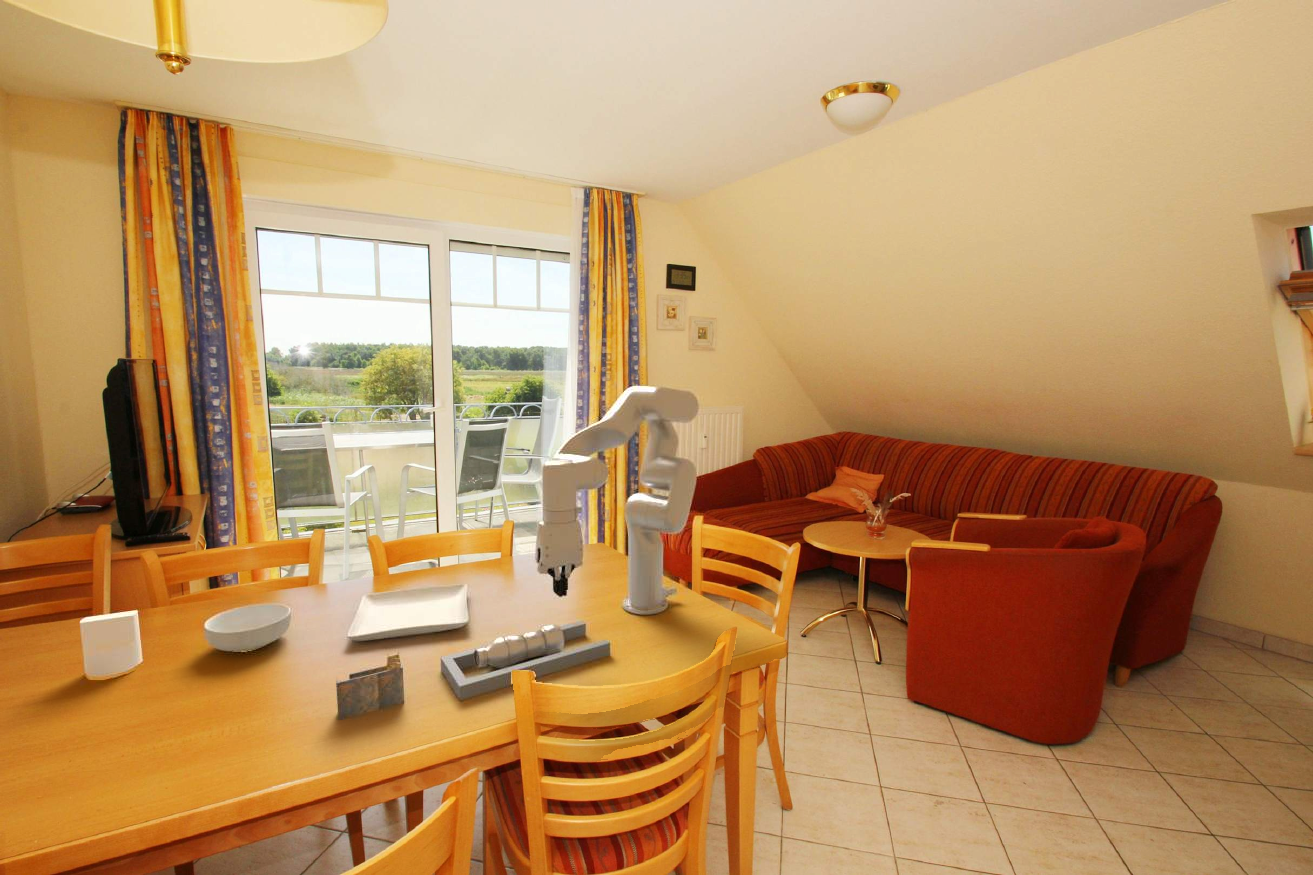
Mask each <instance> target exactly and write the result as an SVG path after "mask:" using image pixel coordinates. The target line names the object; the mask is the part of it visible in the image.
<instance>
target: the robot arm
mask: <svg viewBox="0 0 1313 875" xmlns="http://www.w3.org/2000/svg"><path fill="white" fill-rule="evenodd" d="M698 401H699V400H698V398H697V396H696V395H695V394H694V393H693V392H691V391H689V390H682V389H678V388H677V389H676V388H671V387H666V386H664V387H663V386H654V385H653V386H652V385H651V386H647V385H634V386H630V387H628V388H627V389H625V390H624V391H623V393H622V394H621V395H620V396H619V397H618V399H617V400H616V401H615V403H614V404H613V405H612V407H610V408H609V410H608V412H607V413H605V415H604V416H603V417H602V418H601V420H599V421H597V422H596V423H593V424H590V426H588V427H586V428H584V429H583V430H581V431H579V432H577V433H575V434H574V435H572V436H570V438H568V439H567V440H566V441H565V443H563V445H562V446H560V448H559V449H558V451H557V452H556V453H555V455H554V457H553V458H552V460H549V461H545V463H543V465H542V469H541V470H542V471H541V472H542V475H541V476H542V478H541V479H542V482H541V483H542V521H539V524H538V526H537V532H536V540H535V555H534V556H535V557H534V558H535V562H536V563H537V564H538V565H537V568H536V571H537V572H538V573H539V574H543V575H550V577H551V578H552V591H553V593H554V594H555V595H556V596H558V597H559V598H562V597H565V596H567V595H568V593H567V592H568V591H569V578H570V577H571V574H572V573H573V571H574V570H575V569H577V568H580V567H581V566H583V564H584V563H583V559H584V540H583V533H582V532H583V531H582V528H581V523H580V520H579V519H578V517H579V516H578V515H579V514H582V513H583V509H582V507H578V503H577V502H578V494H577V492H579V491H591V490H592V491H593V490H596V489H598V488H601V487H602V486H603V485H604V484H605V483H606V482H607V480H608V477H609V470H608V466H607V463H606V462H604V461H603V460H602V459H600V458H598V457H594V456H593V455H595V454H597V453H599V452H603V451H608V450H612V449H615V448H619V447H621V446H624V445H626V444H627V443H628V442H629V441H630V440H631V438H632V437H633V436H634V434H635V433H636V431H637V430H638V429H639V427H640V426H641V425H642V424H643V422H644V421H645V425H646V427H647V431H648V432H647V434H648V435H647V436H648V438H647V442H646V446H645V447H646V448H645V451H644V455H643V459H642V463H641V467H640V474H639V481H640V483H641V485H643V487H644V488H647V489H651V490H656V491H660V492H661V491H662V492H668V494H669V495H668V496H667V495H661V494H657V493H649V492H637V493H633V494H632V495H630V496H629V497H628V498H627V500H626V502H625V505H624V517H625V524H626V527H627V535H628V537H627V538H628V539H627V540H628V549H627V551H628V552H627V553H628V555H627V556H628V557H627V558H628V560H627V562H628V563H627V564H628V565H627V566H628V569H627V570H628V571H627V574H628V575H627V579H628V580H627V581H628V582H627V585H628V587H627V588H628V589H627V590H628V591H627V596H626V597H624V599H622V601H621V602H622V608H623V609H624V610H625V611H626V612H628V613H631V614H634V615H643V616H644V615H646V616H647V615H656V614H659V613H662V612H664V611H665V610H667V608H668V607H669V601H668V600H667V598H668V597H669V596H673V595H677V593H678V589H677V587H669V588H668V586H667V585H663V581H664V577H663V576H664V573H663V572H664V542H663V538H662V535H661V533H664V534H670V535H676V534H679V533H681V532H682V531H683V530H684V528H685V527H686V524H687V521H688V518H689V514H690V509H691V506H692V503H693V498H694V494H695V491H696V490H695V489H696V485H697V468H696V466H695V463H694V462H692V460H690V459H688V458H684V457H677V452H678V447H679V436H678V433H677V431H676V429H675V426H674V425H673V423H681V424H687V423H690V422H692V421H693V420H695V418H696V417H697V415H698V413H699V409H700V408H699V407H700V406H699V402H698Z"/></svg>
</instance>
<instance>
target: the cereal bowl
mask: <svg viewBox="0 0 1313 875" xmlns="http://www.w3.org/2000/svg"><path fill="white" fill-rule="evenodd" d="M291 613H292V611H291V609H290V607H289V606H288V605H286V604H282V603H275V602H274V603H269V602H268V603H258V604H250V605H245V606H240V607H235V608H232V609H229V610H225V611H222V612H219V613H218V614H216V615H213V616H212V617H210V618H209V619H207V620H206V621H205V622H204V624H203V633H204V637H205V640H206V642H207V643H208V644H209V645H210V646H211V647H213V648H214V649H216V650H220V651H224V652H225V651H226V652H231V651H235V652H241V651H249V650H254V649H257V648H261V647H263V646H265V645H266V646H267V644H268V645H269V644H270V643H271V644H272V642H274V641H276V640H278V639H279V638H281V637H282V636H283V635H284V634H285V633H286V632H287V631H288V629H289V626H290V625H291V621H292V620H291V619H292V614H291ZM266 646H265V647H266ZM263 648H264V647H263ZM261 649H262V648H261Z"/></svg>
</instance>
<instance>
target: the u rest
mask: <svg viewBox="0 0 1313 875" xmlns="http://www.w3.org/2000/svg"><path fill="white" fill-rule="evenodd" d="M560 628H561V629H562V631H563V635H564V642H566V641H570V640H574V639H577V638H581V637H583V636H586V635H587V624H586V622H584V621H583V620H579V621H575V622H571V623H568V624H564V625H560ZM488 645H489V644H486V645H483V646H479V647H476V648H475V647H474V648H471V649H467V650H464V651H459V652H457V653H456V652H455V653H452V654H451V653H450V654H449V655H444V656H440V671H441V673H442V674H443V676H444V678H445V680H446V681H447V683H448V684H449V686H450V687H451V688H452V690H453V692H454V694H455V695H456V698H457V699H458V700H459V701H464V700H468V699H470V698H474V697H478V696H480V695H483V694H486V693H490V692H494V691H497V690H500V689H503V688H508V687H511V686H512V685H511V671H512V670H531V671H534V672H535V674H536V678H535V679H537V678H539V677H543V676H546V675H547V676H548V675H550V674H552V673H556V672H559V671H563V670H565V669H569V668H572V667H573V668H574V667H575V666H578V665H579V666H580V665H582V664H583V665H584V664H586V663H589V662H592V661H596V660H599V659H602V658H605V657H609V656H611V642H610V641H609V640H607V639H602V640H599V641H596V642H591V643H588V644H585V645H581V646H577V647H575V648H570V649H567V650H564V651H560V652H558V653H556V654H553V655H545V656H543V657H539V658H536V659H532V660H529V661H526V662H522V663H518V664H513V665H510V666H508V667H505V668H499V669H498V670H495V671H490V672H487V673H484V674H483V673H482V674H479V675H476V676H473V677H469V678H466V676H465V674H464V673H463V671H462V670H464V669H467V668H471V667H476V665H475V662H474V651H475V650H476V649H481V648H483V647H484V648H487V647H488Z"/></svg>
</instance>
